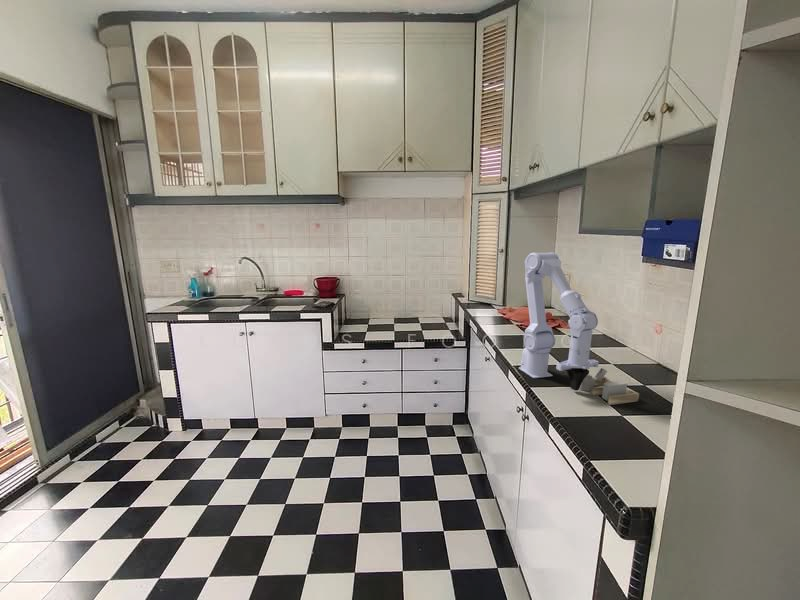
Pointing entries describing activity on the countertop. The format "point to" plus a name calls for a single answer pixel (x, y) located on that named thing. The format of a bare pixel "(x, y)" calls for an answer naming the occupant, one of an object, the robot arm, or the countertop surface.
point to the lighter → (592, 380)
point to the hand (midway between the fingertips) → (574, 389)
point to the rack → (616, 399)
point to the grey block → (613, 389)
